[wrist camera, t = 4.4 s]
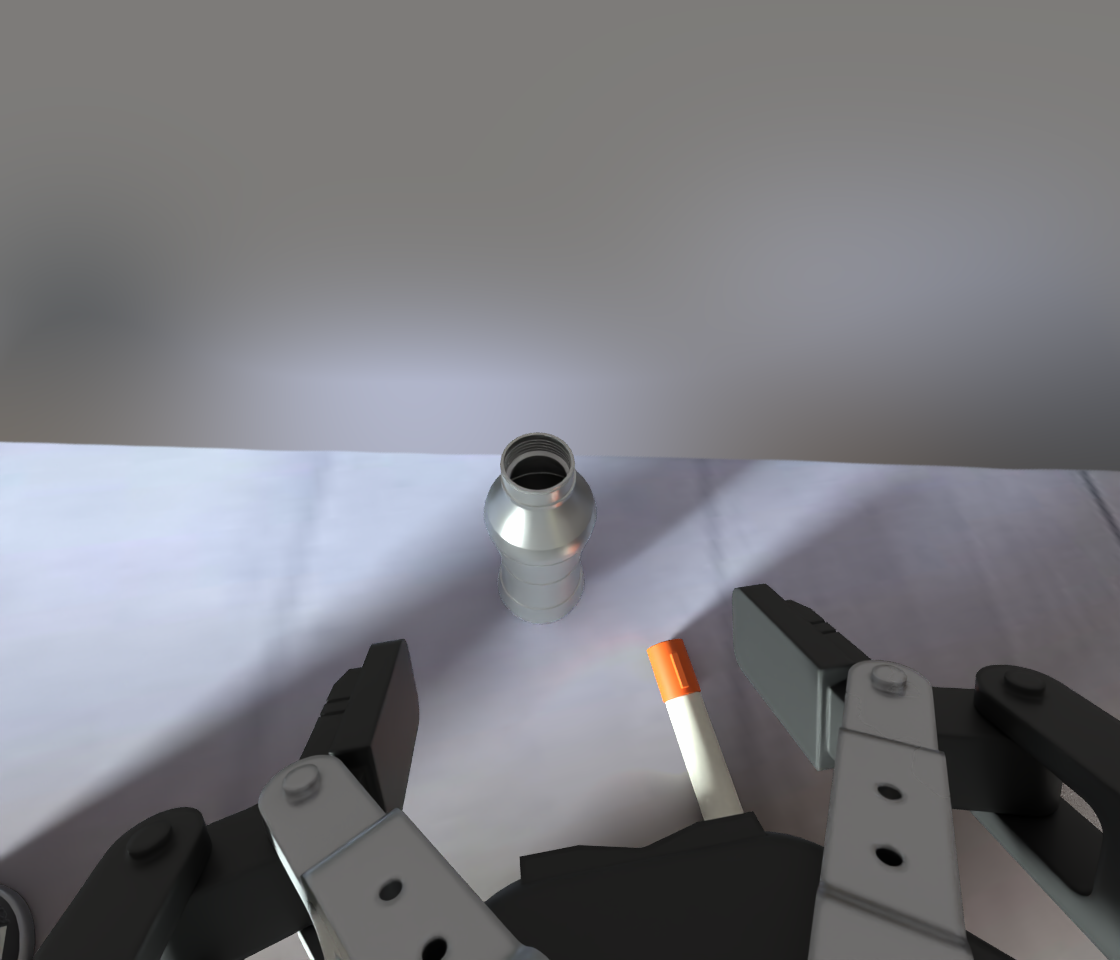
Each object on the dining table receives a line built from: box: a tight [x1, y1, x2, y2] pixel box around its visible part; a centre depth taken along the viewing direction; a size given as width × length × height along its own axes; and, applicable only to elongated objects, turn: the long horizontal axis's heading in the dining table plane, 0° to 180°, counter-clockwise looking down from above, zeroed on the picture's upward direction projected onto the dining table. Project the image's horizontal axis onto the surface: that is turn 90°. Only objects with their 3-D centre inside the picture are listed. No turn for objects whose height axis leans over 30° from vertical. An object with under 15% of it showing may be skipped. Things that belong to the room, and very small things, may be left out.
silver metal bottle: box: [484, 433, 597, 624], centre depth 36 cm, size 6×7×20 cm
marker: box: [647, 639, 744, 821], centre depth 37 cm, size 16×3×3 cm, turn 14°
